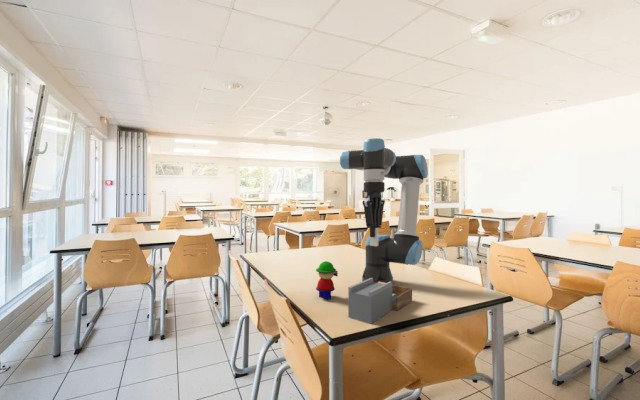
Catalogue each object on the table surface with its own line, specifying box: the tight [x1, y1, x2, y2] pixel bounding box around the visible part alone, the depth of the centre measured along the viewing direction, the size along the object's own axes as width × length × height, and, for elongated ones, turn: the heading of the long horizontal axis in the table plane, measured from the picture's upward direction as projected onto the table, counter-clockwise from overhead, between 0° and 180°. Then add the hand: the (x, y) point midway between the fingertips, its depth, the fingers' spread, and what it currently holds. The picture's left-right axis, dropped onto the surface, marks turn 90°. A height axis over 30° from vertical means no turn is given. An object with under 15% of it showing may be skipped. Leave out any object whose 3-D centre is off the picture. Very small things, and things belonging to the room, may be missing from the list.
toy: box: [315, 260, 338, 301], centre depth 128 cm, size 9×9×15 cm
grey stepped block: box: [347, 278, 393, 324], centre depth 110 cm, size 9×16×10 cm, turn 141°
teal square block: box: [392, 293, 396, 304], centre depth 120 cm, size 5×5×3 cm
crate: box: [391, 284, 413, 312], centre depth 121 cm, size 13×14×5 cm
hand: (374, 245), depth 111 cm, fingers closed
